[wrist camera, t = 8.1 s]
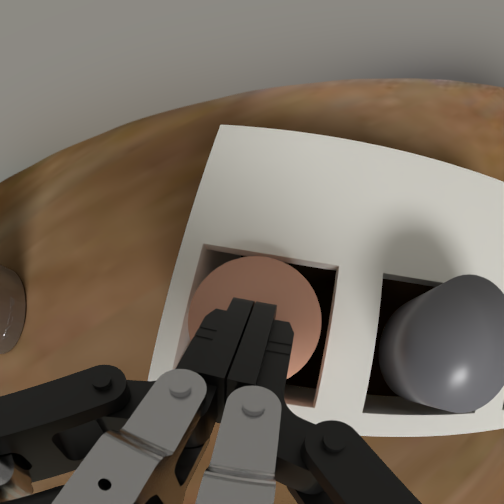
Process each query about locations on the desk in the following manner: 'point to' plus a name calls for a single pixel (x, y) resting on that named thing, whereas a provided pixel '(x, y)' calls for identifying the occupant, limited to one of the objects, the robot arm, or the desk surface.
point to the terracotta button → (263, 299)
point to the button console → (340, 254)
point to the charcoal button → (447, 346)
